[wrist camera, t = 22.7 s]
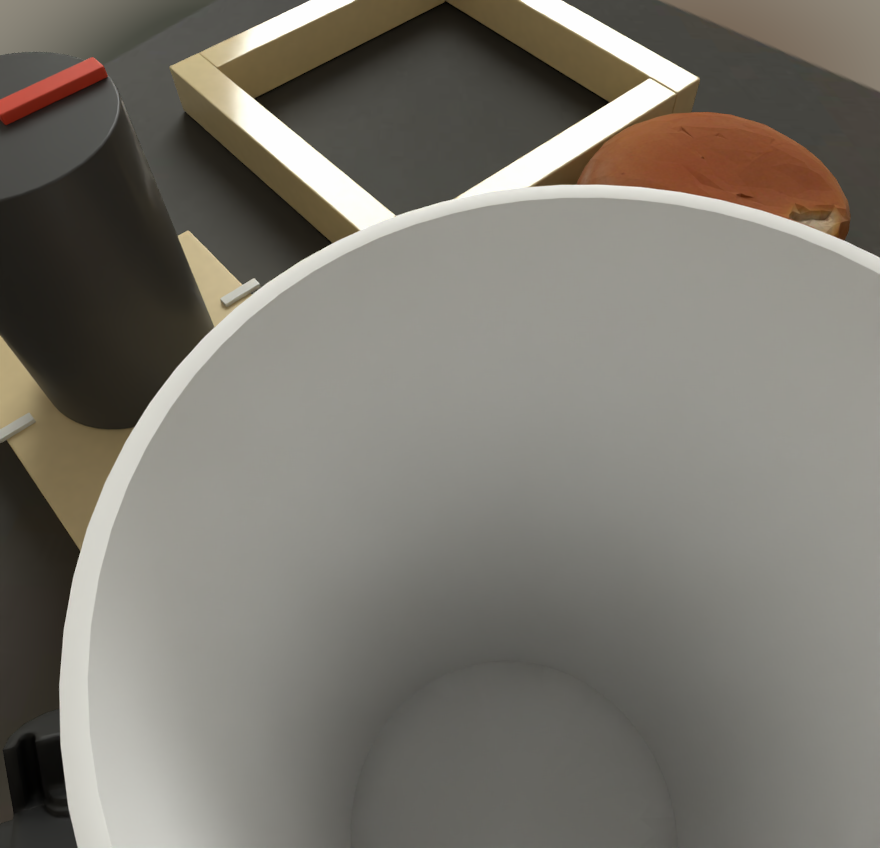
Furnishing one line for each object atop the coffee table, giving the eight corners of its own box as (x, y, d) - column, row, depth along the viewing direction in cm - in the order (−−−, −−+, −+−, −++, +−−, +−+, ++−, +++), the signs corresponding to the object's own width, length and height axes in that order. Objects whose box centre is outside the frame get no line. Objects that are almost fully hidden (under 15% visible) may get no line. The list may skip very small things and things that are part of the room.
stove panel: (407, 461, 26) (403, 426, 24) (142, 659, 23) (115, 635, 21) (199, 250, 32) (183, 208, 30) (-39, 384, 28) (-73, 346, 27)
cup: (746, 791, 20) (1359, 460, 6) (562, 1142, 16) (1043, 2105, 3) (475, 596, 22) (494, 82, 9) (269, 860, 19) (-192, 662, 6)
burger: (585, 165, 34) (602, 63, 30) (816, 201, 32) (865, 99, 28) (540, 346, 29) (553, 252, 25) (811, 398, 27) (870, 307, 23)
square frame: (688, 123, 35) (701, 77, 33) (407, 310, 30) (403, 268, 28) (448, -21, 42) (447, -66, 40) (183, 110, 37) (168, 66, 35)
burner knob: (98, 462, 24) (-78, 233, 16) (14, 354, 26) (-174, 108, 19) (252, 361, 26) (161, 112, 18) (161, 268, 28) (46, 13, 21)
